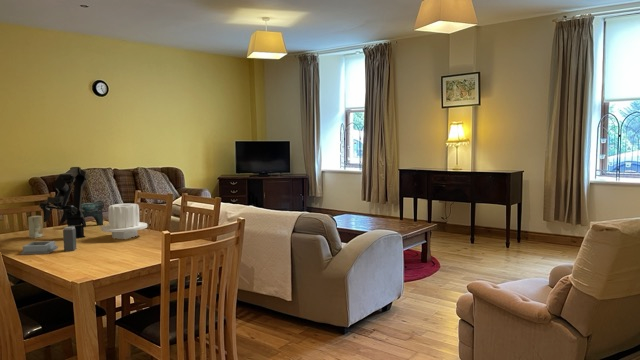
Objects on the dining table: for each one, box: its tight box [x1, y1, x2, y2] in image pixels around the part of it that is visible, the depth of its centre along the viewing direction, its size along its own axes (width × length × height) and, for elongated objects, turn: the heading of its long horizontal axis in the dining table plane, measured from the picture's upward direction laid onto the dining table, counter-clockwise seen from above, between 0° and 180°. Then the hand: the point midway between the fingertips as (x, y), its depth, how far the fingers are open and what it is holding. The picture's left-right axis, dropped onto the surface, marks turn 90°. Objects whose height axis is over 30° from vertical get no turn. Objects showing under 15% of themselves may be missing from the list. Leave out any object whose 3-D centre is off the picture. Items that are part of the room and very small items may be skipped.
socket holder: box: [19, 240, 59, 256], centre depth 243 cm, size 13×13×4 cm
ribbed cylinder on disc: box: [100, 202, 148, 240], centre depth 277 cm, size 25×25×19 cm
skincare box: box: [27, 215, 44, 239], centre depth 279 cm, size 6×4×12 cm
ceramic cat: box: [81, 195, 105, 227], centre depth 311 cm, size 20×6×20 cm, turn 134°
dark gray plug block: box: [62, 226, 77, 252], centre depth 245 cm, size 4×4×12 cm
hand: (52, 223), depth 249 cm, fingers open, 9 cm apart
